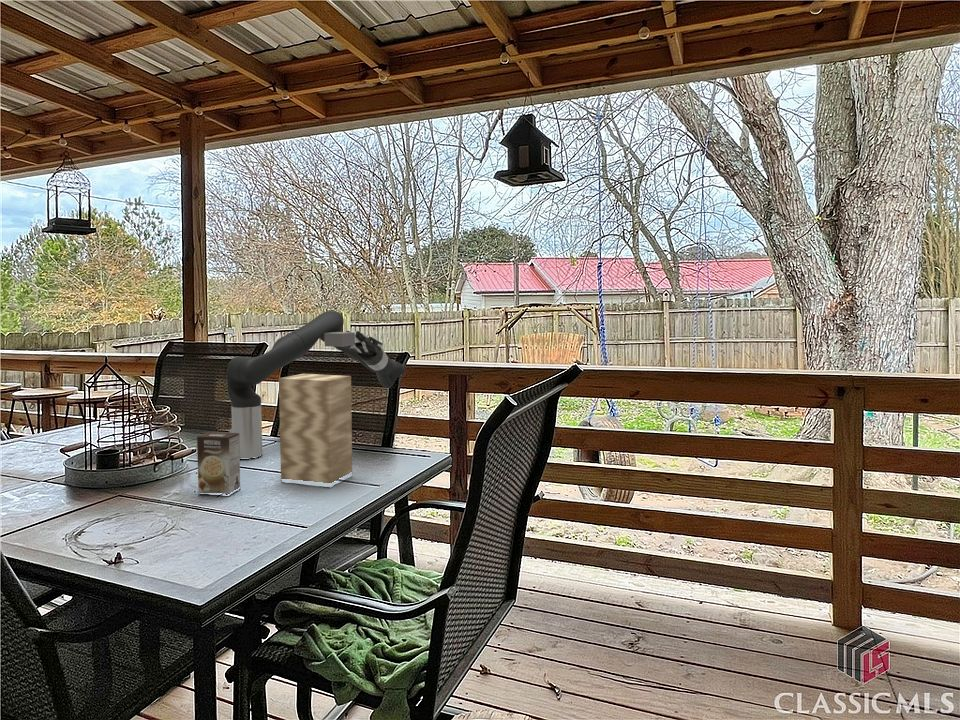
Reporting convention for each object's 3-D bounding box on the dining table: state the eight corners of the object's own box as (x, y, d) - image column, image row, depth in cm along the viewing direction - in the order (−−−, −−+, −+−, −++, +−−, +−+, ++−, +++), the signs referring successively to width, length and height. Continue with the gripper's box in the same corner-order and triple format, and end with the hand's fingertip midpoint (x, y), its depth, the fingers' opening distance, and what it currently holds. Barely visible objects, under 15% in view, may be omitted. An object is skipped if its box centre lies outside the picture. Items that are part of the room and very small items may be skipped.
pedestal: (281, 482, 173) (278, 378, 170) (305, 471, 184) (303, 373, 182) (330, 488, 168) (328, 380, 165) (352, 476, 180) (351, 376, 177)
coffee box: (197, 495, 161) (194, 436, 159) (210, 488, 167) (208, 431, 166) (230, 497, 160) (228, 437, 159) (241, 489, 166) (240, 432, 165)
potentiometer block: (324, 346, 187) (324, 333, 186) (354, 342, 204) (354, 330, 204) (341, 346, 185) (341, 333, 184) (370, 342, 202) (370, 330, 202)
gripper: (358, 345, 215) (335, 322, 200) (394, 347, 211) (374, 323, 196) (353, 365, 212) (329, 343, 197) (389, 366, 208) (368, 344, 193)
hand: (351, 333), depth 196 cm, fingers closed on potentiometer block, 3 cm apart
